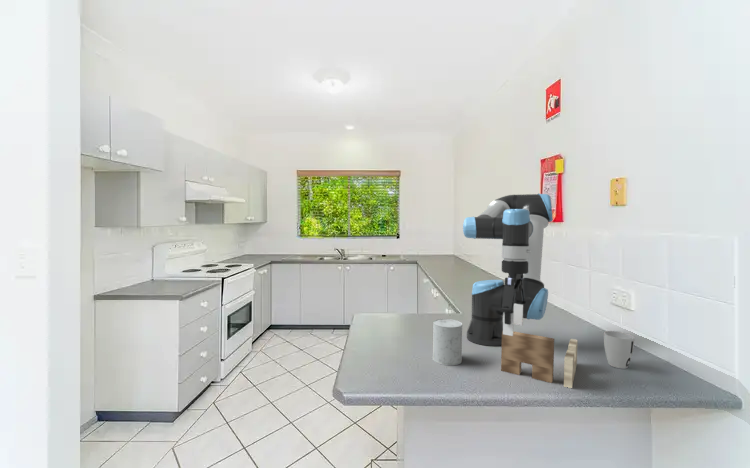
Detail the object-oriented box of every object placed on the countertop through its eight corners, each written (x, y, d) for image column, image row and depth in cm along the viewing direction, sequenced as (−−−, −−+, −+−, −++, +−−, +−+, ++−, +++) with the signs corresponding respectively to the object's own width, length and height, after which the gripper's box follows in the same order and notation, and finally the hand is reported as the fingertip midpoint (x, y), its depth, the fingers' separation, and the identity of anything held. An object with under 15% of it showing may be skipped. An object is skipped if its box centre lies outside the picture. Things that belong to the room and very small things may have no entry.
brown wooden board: (501, 370, 105) (501, 332, 104) (503, 367, 107) (504, 329, 107) (551, 383, 97) (552, 341, 96) (553, 379, 99) (554, 338, 99)
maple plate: (571, 388, 94) (572, 359, 93) (563, 386, 95) (564, 358, 94) (576, 364, 110) (577, 340, 110) (569, 362, 111) (570, 338, 111)
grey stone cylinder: (462, 356, 116) (463, 320, 116) (460, 367, 107) (461, 328, 106) (434, 352, 119) (435, 317, 119) (430, 362, 110) (430, 325, 110)
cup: (635, 373, 104) (636, 340, 104) (603, 366, 108) (604, 335, 108) (632, 364, 111) (633, 333, 111) (602, 358, 115) (603, 329, 115)
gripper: (519, 263, 91) (517, 342, 91) (535, 258, 111) (533, 322, 112) (491, 261, 95) (489, 337, 95) (511, 256, 116) (509, 318, 116)
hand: (513, 329), depth 104 cm, fingers open, 13 cm apart
